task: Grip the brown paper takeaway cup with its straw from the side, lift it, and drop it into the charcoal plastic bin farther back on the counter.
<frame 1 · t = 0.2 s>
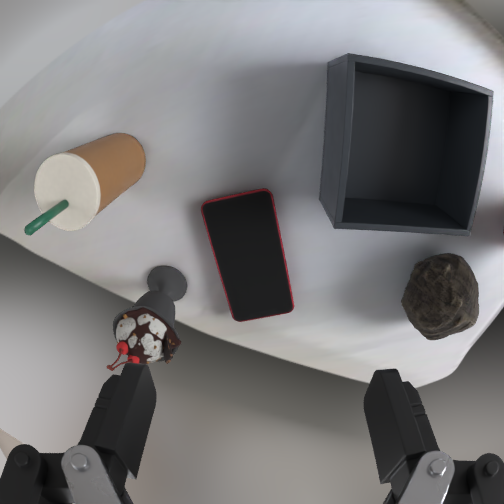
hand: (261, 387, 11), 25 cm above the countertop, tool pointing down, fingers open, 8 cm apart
smartphone: (250, 257, 36), on the countertop
bin: (390, 139, 29), on the countertop
takeaway cup: (119, 160, 31), on the countertop
rock: (428, 281, 37), on the countertop
sundae: (167, 283, 38), on the countertop
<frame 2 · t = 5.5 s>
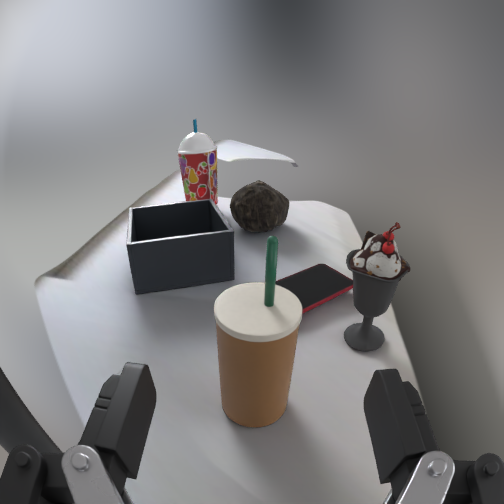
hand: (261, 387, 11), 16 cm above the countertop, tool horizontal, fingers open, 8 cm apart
smartphone: (299, 296, 43), on the countertop
smoothie: (202, 210, 71), on the countertop
bin: (179, 262, 50), on the countertop
takeaway cup: (254, 401, 28), on the countertop
rock: (261, 228, 63), on the countertop
sundae: (364, 338, 36), on the countertop
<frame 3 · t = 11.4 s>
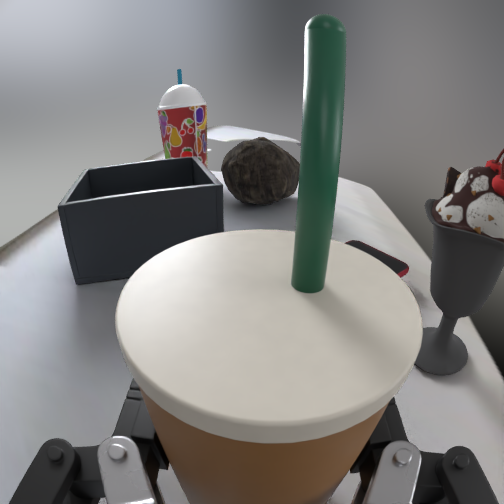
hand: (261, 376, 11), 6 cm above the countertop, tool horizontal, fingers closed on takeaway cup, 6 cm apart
smartphone: (326, 288, 26), on the countertop
smoothie: (189, 183, 55), on the countertop
bin: (146, 242, 34), on the countertop
takeaway cup: (256, 491, 12), on the countertop, touching gripper
rock: (263, 201, 47), on the countertop
sundae: (437, 353, 19), on the countertop
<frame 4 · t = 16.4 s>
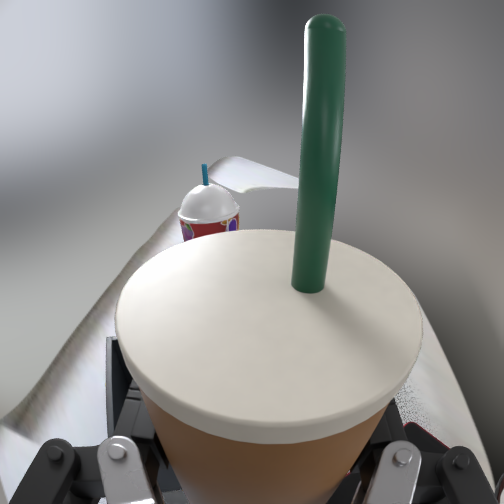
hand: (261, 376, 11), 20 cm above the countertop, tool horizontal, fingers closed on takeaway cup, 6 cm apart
smartphone: (384, 489, 21), on the countertop
smoothie: (218, 295, 50), on the countertop
bin: (195, 424, 29), on the countertop
takeaway cup: (256, 491, 12), point 14 cm above the countertop, touching gripper
when the fingers open (12 cm above the countertop, at t = 21.6 s): takeaway cup drops 5 cm, resting on bin.
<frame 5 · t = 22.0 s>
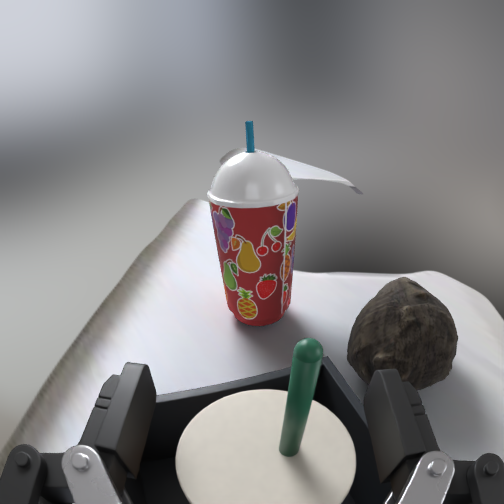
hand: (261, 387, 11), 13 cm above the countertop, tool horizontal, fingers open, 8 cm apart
smoothie: (259, 312, 36), on the countertop
rock: (393, 369, 27), on the countertop
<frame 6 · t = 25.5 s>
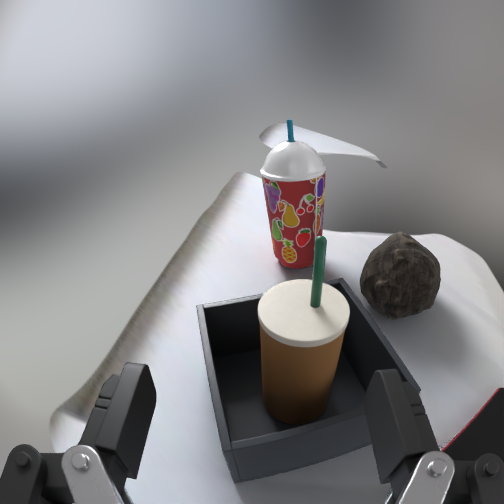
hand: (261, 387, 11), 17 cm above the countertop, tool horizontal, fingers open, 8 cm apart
smartphone: (481, 456, 19), on the countertop
smoothie: (297, 259, 47), on the countertop
bin: (293, 398, 28), on the countertop
takeaway cup: (295, 397, 27), point 1 cm above the countertop, touching bin
rock: (396, 302, 38), on the countertop
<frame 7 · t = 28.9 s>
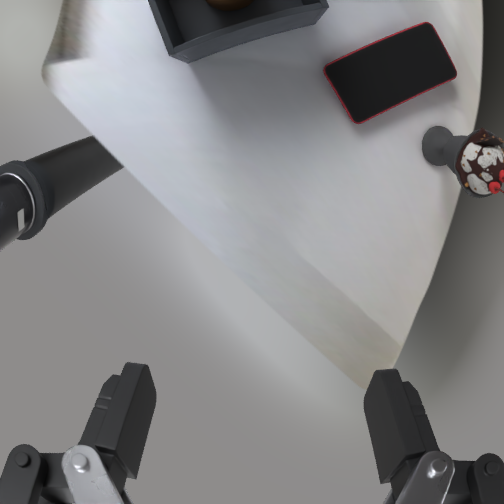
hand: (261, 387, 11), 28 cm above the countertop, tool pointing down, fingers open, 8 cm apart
smartphone: (392, 69, 29), on the countertop
sundae: (438, 146, 33), on the countertop
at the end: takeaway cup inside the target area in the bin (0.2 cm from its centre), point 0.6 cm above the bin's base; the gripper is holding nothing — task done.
